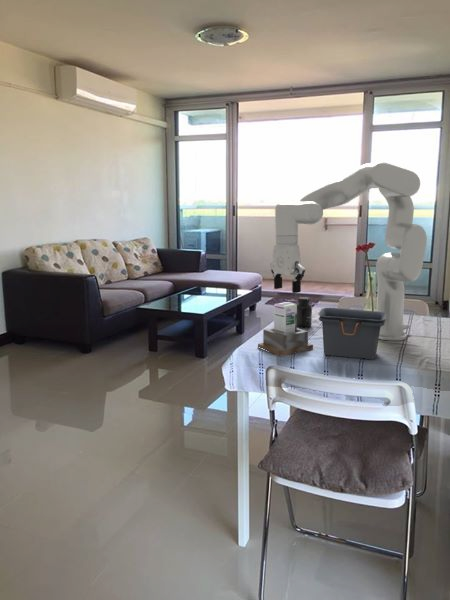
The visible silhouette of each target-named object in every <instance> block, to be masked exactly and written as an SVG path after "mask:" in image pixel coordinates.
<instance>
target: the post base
mask: <svg viewBox="0 0 450 600" xmlns="http://www.w3.org/2000/svg"><path fill="white" fill-rule="evenodd" d="M262 331H263V336H262V337H263V338H262V340H263V342H260V343H257V348H258V347H260V348H263V349H265V350H267V351H269V352H270V354H272V355H275V356H277V357H282V356H287V355H288V356H289V355H291V354H295V352H297V353H300V352H299V351H301V352H304V351H303V350H306V351H309V350H308V349H310V350H313V349H314V344H312V343H309V331H308V330H304V329H303V328H298V327H297V332H295V333H290V334H285V335H283V334H280V333H277V332H274V327H270V328H269V327H268V328H263V330H262ZM260 348H259V349H260ZM265 350H264V351H265ZM267 351H266V352H267ZM269 352H268V353H269Z"/></svg>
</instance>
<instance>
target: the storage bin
mask: <svg viewBox="0 0 450 600" xmlns="http://www.w3.org/2000/svg"><path fill="white" fill-rule="evenodd" d="M317 315H318V316H319V317H318V321H320V322H321V323H322V324H321V326H322V343H323V344H322V345H323V354H324V355H325V356H334V357H341V358H343V357H345V358H352V359H353V358H354V359H361V358H366V359H365V360H370V359H373V360H375V359H376V357H377V356H376V355H377V351H378V345H379V340H380V339H379V333H380V328H381V326H383V325H384V323H385V319H386V313H384V312H377V310H363V309H353V308H352V309H350V308H337V307H323V308H321V310H319V312H318V314H317Z"/></svg>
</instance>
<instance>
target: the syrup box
mask: <svg viewBox="0 0 450 600" xmlns="http://www.w3.org/2000/svg"><path fill="white" fill-rule="evenodd" d="M297 304H298V303H294V302H289V301H284V302H280V303H274V304H273V328H274V332H277V333H280V334H283V335H285V334H290V333H295V332H297V328H298V327H297Z"/></svg>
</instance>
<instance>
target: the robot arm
mask: <svg viewBox="0 0 450 600" xmlns="http://www.w3.org/2000/svg"><path fill="white" fill-rule="evenodd" d="M420 186H421V179H420V177H419V176H418V174H417V173H416V172H414V171H412V170H409V169H406V168H402V167H401V166H397V165H394V164H391V163H387V162H384V161H377V162H369V163H368V162H367V163H365V164H362V165H360V166H358V167H357V168H355V169H353V170H352V171H350V172H348V173H346V174H345V175H343V176H342V177H340V178H338V179H336V180H334V181H333V182H330V183H329V184H327V185H324V186H323V187H320V188H318V189H316V190H314V191H312V192H310V193H308V194H306V195H304V196H303V197H301V198H299V199H297V200H296V201H295V202H285V203H284V202H282V203H277V204H276V205H275V210H274V212H275V214H274V215H275V216H274V217H275V222H274V223H275V226H274V227H275V243H274V245H273V250H272V251H273V253H272V262H270V263H269V266H270V269H271V270H270V271H271V273H272V278H273V289H274V290H279V289H283V276H284V275H285V276H290V277H291V278H292V279H293V280H292V282H291V284H292V285H291V289H292V291H291V292H292V293H293V294H296V293H301V291H302V289H301V288H302V285H301V282H302V280H303V278H304V276H305V272H306V268H305V267H304V266H303V265H302V264H301V254H300V253H301V252H300V247H299V225H301V224H302V225H315V224H317V223H319V222H320V221H321V220H322V218H323V216H324V211H325V210H327V209H330V208H335V207H339V206H343V205H345V204H347V203H349V202H351V201H352V200H354V199H356V198H358V197H359V196H361V195H362V194H364V193H366V192H367V191H369V190H371V189H378V191H379V193H380V194H381V195H382V196H383V197H384V198H385V200H386V202H387V204H388V216H387V221H386V222H387V224H386V228H385V229H386V230H385V235H384V243H385V245H386V246H387V247H388V248H390V249H393V250H394V249H395V250H399V251H400V253H398V252H385V253H383V254H382V255H380V256H379V257H378V258H377V260H376V264H375V270H376V279H377V297H376V299H377V300H376V311H377V312H384V313H386V319H385V323H384V325H383V326H381V328H380V333H379V340H382V341H391V342H392V341H402V340H405V339H407V333H405V332H404V331H405V330H408V329H410V327H411V326H410V324H409V323H405V324H404V323H403V322H404V309H405V308H404V307H405V306H404V305H405V293H406V292H405V284H404V283H411V282H415V281H416V280H417V279H418V278H419V277H420V275H421V273H422V269H423V264H424V260H425V254H426V250H427V241H428V237H427V233H426V230H425V228H423V226H421V225H419V224H417V223H413V221H414V213H415V212H414V210H415V207H414V202H413V200H412V196H414V195H416V194H417V193H418V192H419V190H420ZM282 275H283V276H282Z"/></svg>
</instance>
